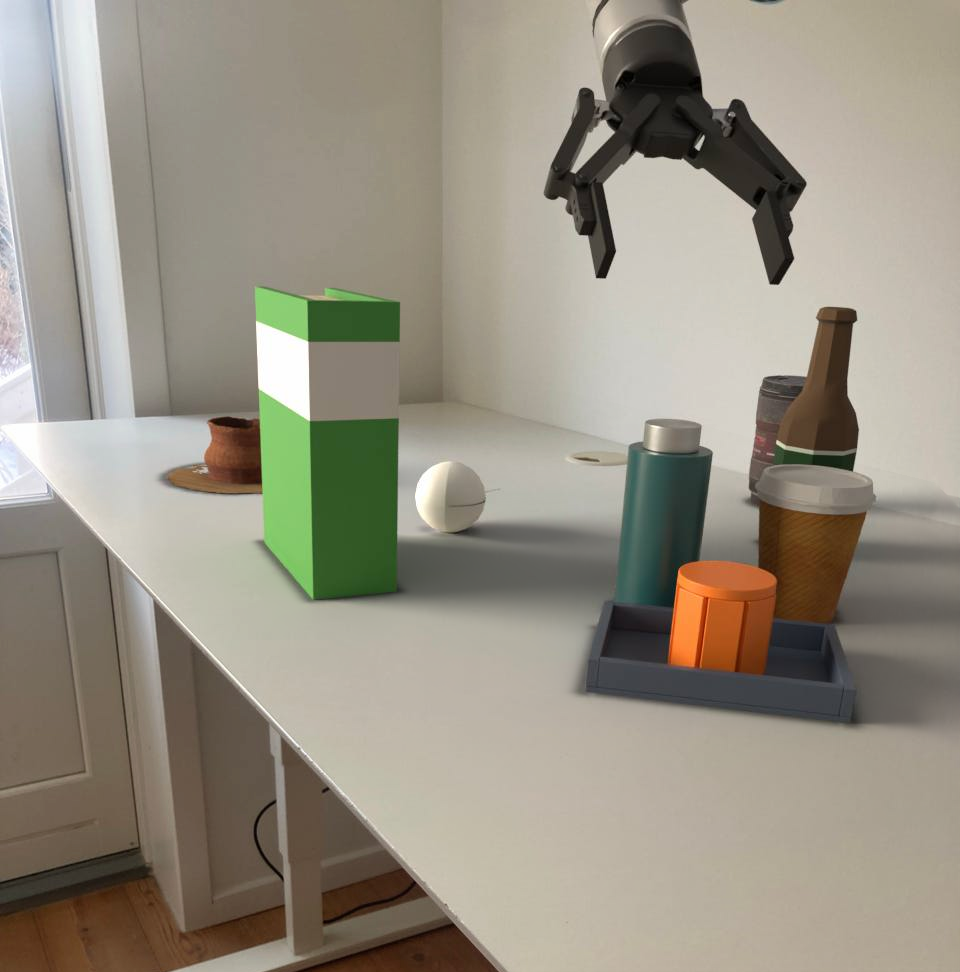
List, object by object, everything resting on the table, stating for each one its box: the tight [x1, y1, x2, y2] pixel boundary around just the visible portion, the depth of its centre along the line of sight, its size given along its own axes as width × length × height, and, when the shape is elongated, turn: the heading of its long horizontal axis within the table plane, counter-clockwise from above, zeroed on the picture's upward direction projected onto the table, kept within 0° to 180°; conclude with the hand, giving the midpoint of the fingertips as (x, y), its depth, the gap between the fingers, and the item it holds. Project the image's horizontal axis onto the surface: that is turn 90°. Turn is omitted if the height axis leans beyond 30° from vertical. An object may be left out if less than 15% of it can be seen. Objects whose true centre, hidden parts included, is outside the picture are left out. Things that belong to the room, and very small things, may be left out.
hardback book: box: [254, 285, 401, 601], centre depth 90 cm, size 18×7×24 cm, turn 24°
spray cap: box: [668, 560, 777, 675], centre depth 73 cm, size 7×7×7 cm
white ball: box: [415, 461, 501, 534], centre depth 107 cm, size 10×7×7 cm
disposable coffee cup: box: [755, 464, 877, 624], centre depth 86 cm, size 10×10×12 cm
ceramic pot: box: [165, 416, 263, 494], centre depth 125 cm, size 18×18×7 cm
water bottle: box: [613, 418, 714, 608], centre depth 83 cm, size 7×7×16 cm
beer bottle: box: [773, 306, 860, 472], centre depth 102 cm, size 8×8×24 cm
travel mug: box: [748, 374, 807, 508], centre depth 121 cm, size 8×8×15 cm
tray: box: [584, 600, 858, 724], centre depth 74 cm, size 18×13×3 cm
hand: (695, 269), depth 75 cm, fingers open, 13 cm apart
